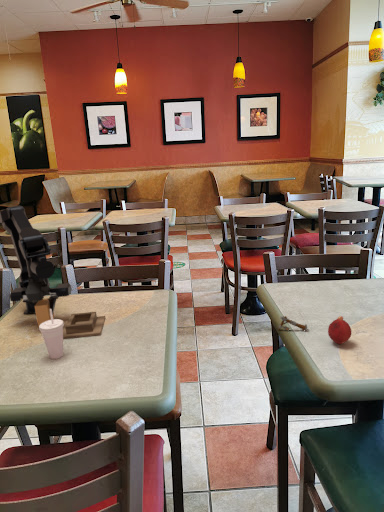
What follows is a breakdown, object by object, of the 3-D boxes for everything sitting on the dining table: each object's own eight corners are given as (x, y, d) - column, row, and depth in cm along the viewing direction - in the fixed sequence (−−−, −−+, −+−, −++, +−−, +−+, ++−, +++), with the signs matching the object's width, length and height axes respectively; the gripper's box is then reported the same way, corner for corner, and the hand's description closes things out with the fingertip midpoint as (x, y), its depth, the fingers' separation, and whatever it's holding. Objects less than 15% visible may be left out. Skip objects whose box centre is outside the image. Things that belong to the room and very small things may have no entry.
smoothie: (61, 362, 106) (52, 314, 103) (39, 360, 108) (31, 313, 104) (72, 350, 112) (65, 304, 109) (52, 349, 114) (44, 304, 110)
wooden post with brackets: (275, 326, 117) (281, 313, 115) (300, 336, 116) (307, 323, 115) (275, 329, 115) (281, 316, 113) (301, 339, 114) (307, 326, 113)
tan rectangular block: (42, 318, 136) (39, 299, 134) (54, 317, 136) (51, 298, 134) (38, 325, 130) (34, 306, 128) (50, 324, 130) (46, 304, 129)
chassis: (66, 322, 132) (64, 313, 131) (105, 318, 133) (104, 309, 132) (57, 339, 119) (55, 329, 119) (100, 335, 120) (99, 325, 120)
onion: (339, 351, 102) (340, 323, 100) (323, 342, 107) (323, 315, 105) (355, 345, 104) (356, 317, 102) (338, 337, 109) (339, 310, 107)
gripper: (-1, 282, 120) (8, 329, 124) (61, 276, 122) (68, 322, 126) (11, 271, 131) (20, 315, 135) (68, 266, 132) (75, 309, 136)
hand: (45, 315), depth 133 cm, fingers closed on tan rectangular block, 4 cm apart
